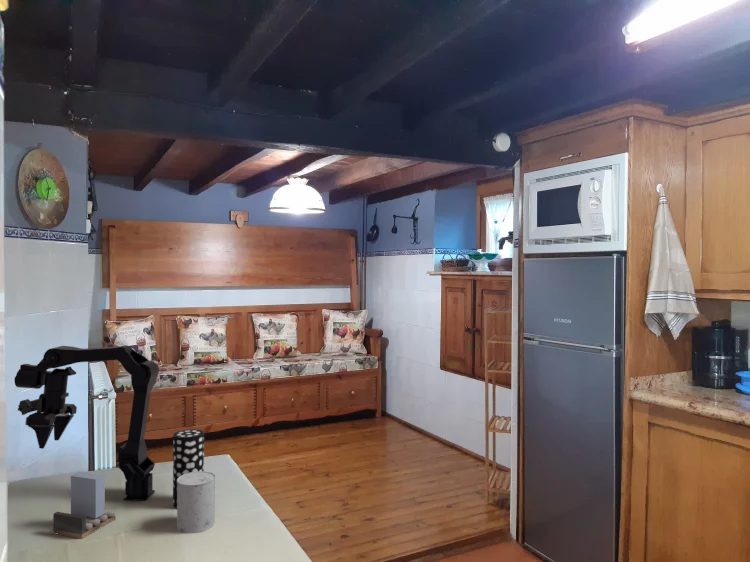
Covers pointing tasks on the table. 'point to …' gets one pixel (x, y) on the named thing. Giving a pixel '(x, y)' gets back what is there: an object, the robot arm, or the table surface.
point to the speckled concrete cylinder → (195, 502)
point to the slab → (88, 494)
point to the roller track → (79, 523)
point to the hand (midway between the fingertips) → (49, 444)
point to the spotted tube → (187, 455)
